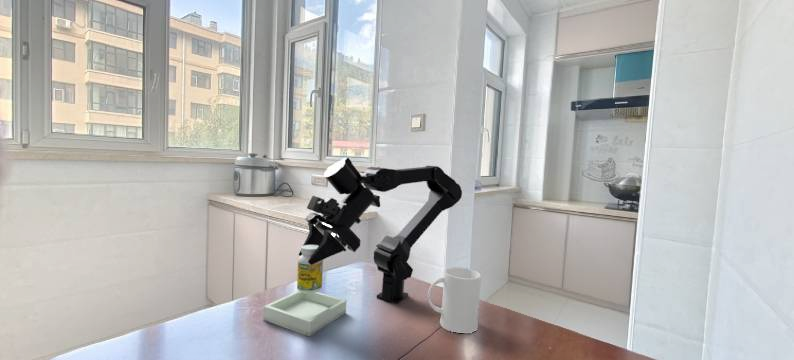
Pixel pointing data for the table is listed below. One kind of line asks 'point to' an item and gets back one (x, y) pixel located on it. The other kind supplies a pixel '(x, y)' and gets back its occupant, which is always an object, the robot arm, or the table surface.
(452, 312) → the mug
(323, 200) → the robot arm
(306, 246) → the supplement bottle
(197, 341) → the table surface
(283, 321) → the tray
